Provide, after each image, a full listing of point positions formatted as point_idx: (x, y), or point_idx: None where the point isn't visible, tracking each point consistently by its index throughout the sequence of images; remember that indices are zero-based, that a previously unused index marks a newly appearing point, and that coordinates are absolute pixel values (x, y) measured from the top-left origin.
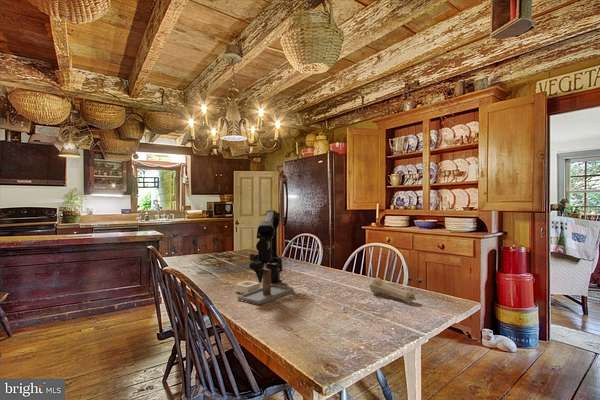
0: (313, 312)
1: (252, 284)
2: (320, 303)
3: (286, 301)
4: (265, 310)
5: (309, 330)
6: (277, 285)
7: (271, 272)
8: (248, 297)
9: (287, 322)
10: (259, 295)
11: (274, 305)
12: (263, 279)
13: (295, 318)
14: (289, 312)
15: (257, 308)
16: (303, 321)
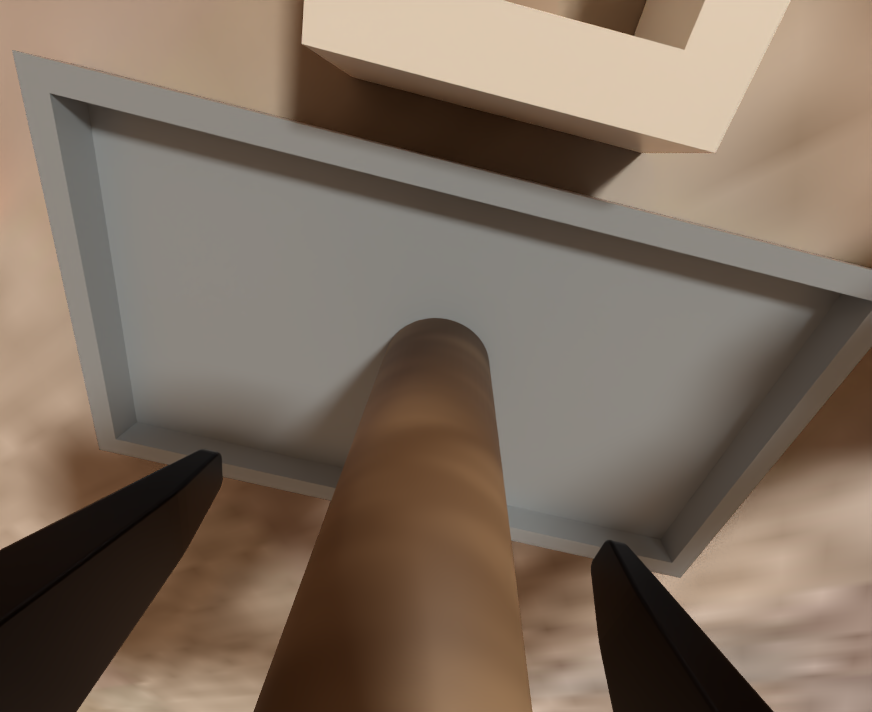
0: (249, 699)
1: (535, 32)
2: None
3: None
4: (84, 503)
5: None
6: (801, 391)
7: (676, 689)
8: (202, 204)
9: None
10: (347, 308)
11: (213, 522)
12: (332, 503)
13: (120, 657)
14: (168, 622)
15: (66, 437)
16: (117, 684)
